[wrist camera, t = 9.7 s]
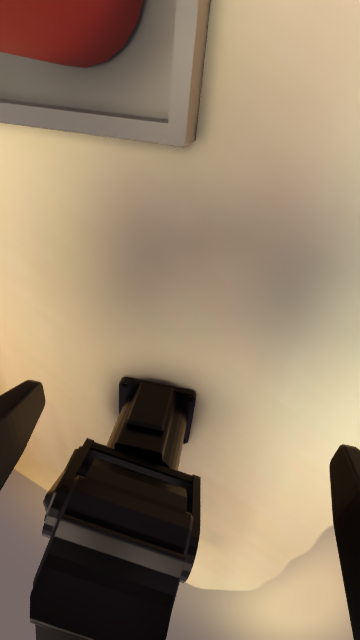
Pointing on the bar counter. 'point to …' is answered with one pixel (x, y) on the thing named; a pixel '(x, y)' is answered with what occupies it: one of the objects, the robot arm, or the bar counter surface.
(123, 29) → the beer can
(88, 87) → the tray
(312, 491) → the bar counter surface
